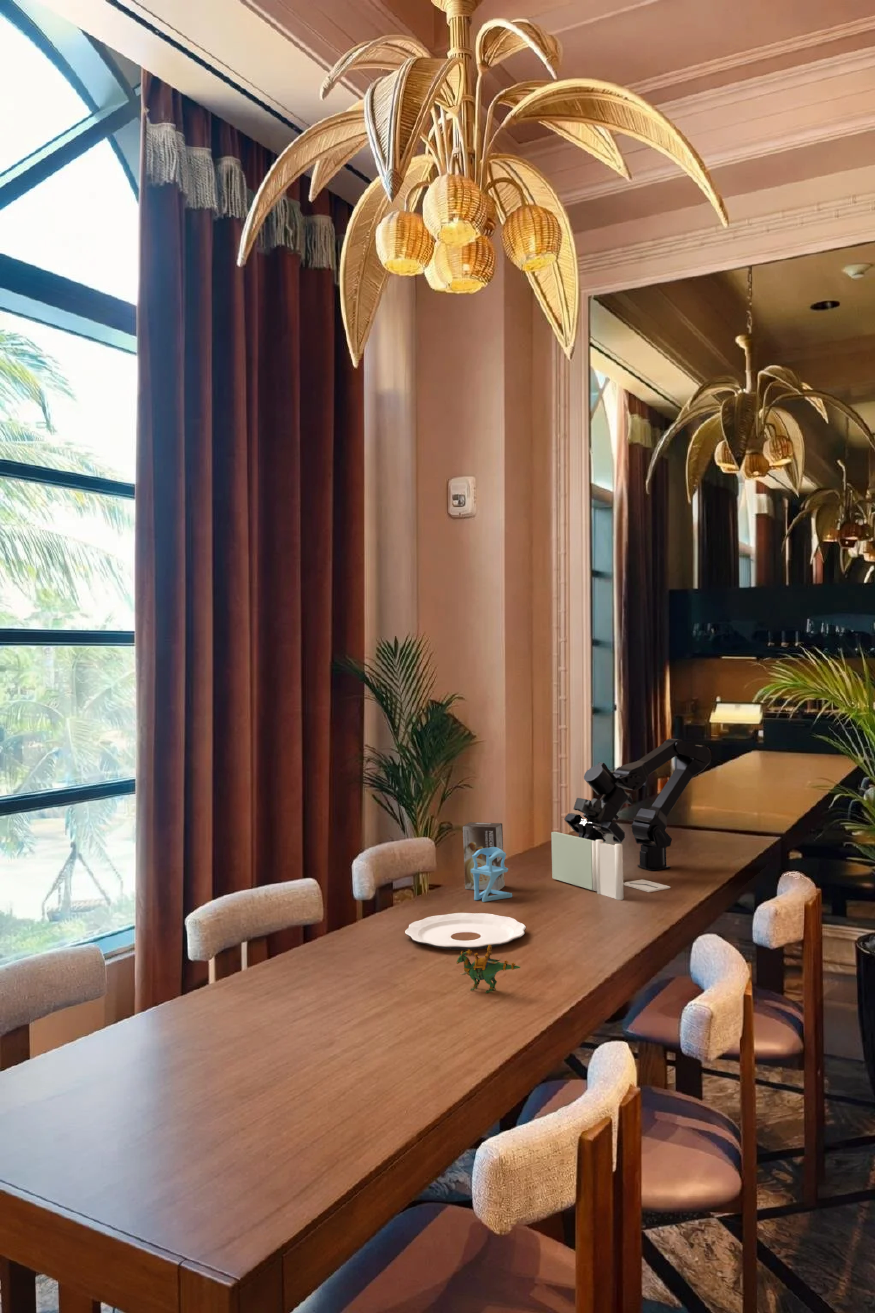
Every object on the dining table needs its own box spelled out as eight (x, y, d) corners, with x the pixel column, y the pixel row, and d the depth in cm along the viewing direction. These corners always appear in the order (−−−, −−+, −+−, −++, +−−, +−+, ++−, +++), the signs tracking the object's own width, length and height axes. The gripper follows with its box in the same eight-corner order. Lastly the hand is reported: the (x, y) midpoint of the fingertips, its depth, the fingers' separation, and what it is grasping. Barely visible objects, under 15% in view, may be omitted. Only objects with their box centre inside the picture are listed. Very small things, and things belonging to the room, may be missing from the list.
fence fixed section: (625, 899, 235) (623, 844, 235) (619, 900, 234) (618, 845, 234) (601, 892, 243) (599, 839, 242) (595, 893, 242) (594, 840, 242)
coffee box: (505, 885, 252) (504, 822, 252) (498, 891, 246) (497, 827, 246) (471, 883, 255) (469, 821, 255) (463, 889, 249) (462, 825, 249)
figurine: (460, 984, 177) (459, 939, 177) (524, 992, 172) (523, 945, 172) (453, 990, 174) (452, 943, 174) (518, 997, 170) (517, 950, 170)
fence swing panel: (598, 890, 243) (597, 841, 243) (594, 891, 242) (593, 842, 242) (556, 877, 257) (554, 831, 257) (552, 878, 257) (551, 832, 257)
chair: (466, 899, 239) (465, 849, 239) (488, 892, 245) (487, 844, 245) (491, 903, 234) (490, 853, 234) (513, 897, 240) (511, 847, 240)
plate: (390, 929, 215) (390, 920, 215) (496, 916, 223) (495, 907, 223) (430, 962, 191) (430, 952, 191) (546, 945, 200) (546, 936, 200)
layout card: (670, 888, 245) (670, 886, 245) (649, 892, 241) (649, 890, 241) (642, 880, 253) (642, 878, 253) (621, 884, 250) (621, 882, 250)
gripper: (569, 783, 266) (536, 828, 260) (615, 790, 250) (581, 838, 244) (592, 809, 270) (561, 854, 264) (639, 818, 254) (607, 866, 248)
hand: (576, 853), depth 255 cm, fingers closed
